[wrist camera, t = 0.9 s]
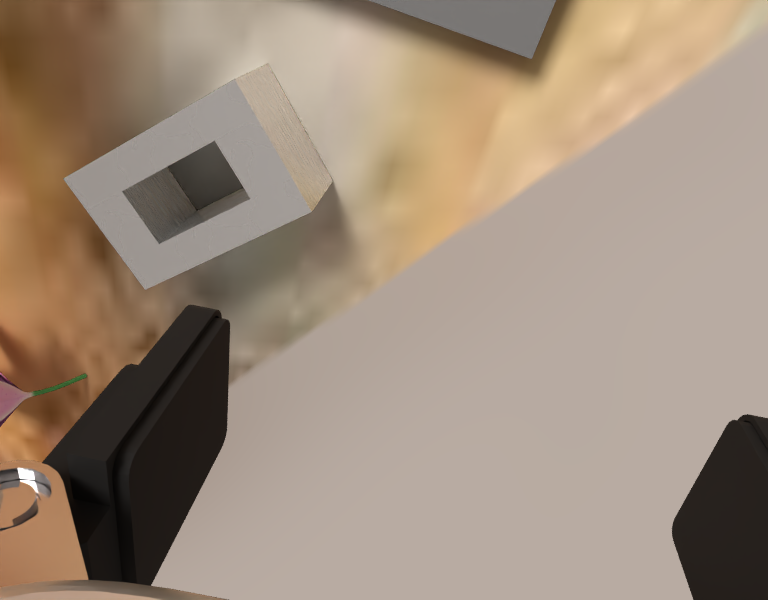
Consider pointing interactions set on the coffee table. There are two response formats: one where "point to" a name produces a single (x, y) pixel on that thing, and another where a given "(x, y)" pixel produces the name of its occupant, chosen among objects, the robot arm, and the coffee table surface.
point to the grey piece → (485, 19)
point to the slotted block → (170, 203)
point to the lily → (21, 395)
